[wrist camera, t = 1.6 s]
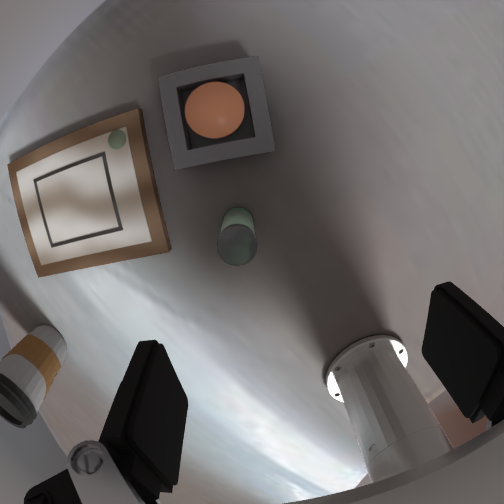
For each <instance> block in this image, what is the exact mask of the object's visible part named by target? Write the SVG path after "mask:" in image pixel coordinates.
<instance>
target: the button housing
mask: <svg viewBox="0 0 504 504" xmlns="http://www.w3.org/2000/svg"><path fill="white" fill-rule="evenodd" d="M209 82H223V83H226V84H229V85H231V86H232V87H234V88H235V89H236V90H237V91H238V92H239V93H240V95H241V97H242V99H243V102H244V118H243V121H242V123H241V125H240V126H239V128H238V129H237V130H236V131H235V132H234V133H232V134H231V135H229V136H227V137H224V138H219V139H212V138H207V137H204V136H201V135H199V134H197V133H196V132H195V131H193V130H192V129H191V127H190V126H189V124H188V123H187V120H186V117H185V105H186V102H187V99H188V97H189V96H190V94H191V93H192V92H193V91H194V90H195V89H196V88H198V87H199V86H201V85H203V84H206V83H209ZM158 83H159V89H160V95H161V102H162V107H163V113H164V119H165V125H166V130H167V136H168V141H169V146H170V151H171V156H172V161H173V166H174V171H175V170H179V169H183V168H188V167H192V166H197V165H202V164H206V163H211V162H216V161H221V160H227V159H232V158H238V157H243V156H249V155H255V154H261V153H267V152H274V151H276V149H275V144H274V138H273V132H272V126H271V121H270V115H269V110H268V104H267V99H266V93H265V88H264V83H263V78H262V73H261V68H260V63H259V58H258V56H253V57H246V58H239V59H233V60H227V61H222V62H216V63H211V64H206V65H202V66H197V67H193V68H189V69H184V70H180V71H176V72H173V73H169V74H165V75H162V76H158Z"/></svg>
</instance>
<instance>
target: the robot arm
mask: <svg viewBox="0 0 504 504" xmlns="http://www.w3.org/2000/svg"><path fill="white" fill-rule="evenodd" d="M422 354H423V357H424V358H425V360H426V361H427V362H428V364H429V365H430V367H431V368H432V369H433V371H434V372H435V374H436V375H437V376H438V378H439V379H440V381H441V382H442V384H443V385H444V387H445V388H446V389H447V391H448V392H449V394H450V395H451V397H452V398H453V400H454V401H455V403H456V404H457V406H458V407H459V409H460V410H461V412H462V413H463V415H464V416H465V417H466V418H470V420H471V422H472V423H474V422H476V421H478V420H479V419H481V418H483V417H484V415H486V417H487V418H488V420H487V427H486V431H485V432H483V433H482V434H480V435H478V436H477V437H475V438H473V439H472V440H470V441H468V442H466V443H464V444H463V445H461V446H459V447H457V448H455V449H454V448H453V447H452V445H451V443H450V441H449V440H448V438H447V436H446V434H445V433H444V431H443V429H442V428H441V426H440V424H439V422H438V421H437V419H436V417H435V416H434V414H433V412H432V410H431V409H430V407H429V405H428V404H427V402H426V400H425V399H424V397H423V395H422V394H421V392H420V390H419V389H418V387H417V386H416V384H415V382H414V381H413V379H412V378H411V376H410V374H409V373H408V371H407V370H406V365H407V361H408V354H407V350H406V348H405V346H404V345H403V344H402V342H401V341H400V340H398V339H397V338H395V337H392V336H388V335H375V336H371V337H367V338H364V339H362V340H359V341H357V342H355V343H353V344H351V345H350V346H349V347H347V348H346V349H344V350H343V351H342V352H341V353H340V354H339V355H338V356H337V357H336V358H335V359H334V360H333V361H332V363H331V365H330V366H329V368H328V371H327V374H326V380H325V381H326V386H327V389H328V392H329V393H330V395H331V396H332V397H333V398H335V399H336V400H339V401H341V402H344V404H345V407H346V410H347V413H348V415H349V418H350V421H351V424H352V427H353V430H354V433H355V436H356V439H357V441H358V444H359V447H360V450H361V453H362V456H363V459H364V462H365V465H366V468H367V471H368V474H369V477H370V479H371V482H372V483H371V484H368V485H365V486H361V487H358V488H354V489H351V490H347V491H343V492H339V493H335V494H331V495H327V496H322V497H318V498H313V499H308V500H302V501H296V502H290V503H284V504H504V327H503V326H502V325H501V324H500V323H499V322H498V321H496V320H495V319H494V318H493V317H492V316H491V315H490V314H489V313H487V312H486V311H485V310H484V309H483V308H482V307H481V306H479V305H478V304H477V303H476V302H475V301H474V300H472V299H471V298H470V297H469V296H468V295H466V294H465V293H464V292H463V291H462V290H460V289H459V288H458V287H457V286H455V285H454V284H453V283H452V282H445V283H442V284H439V285H436V286H435V288H434V290H433V291H432V293H431V298H430V305H429V312H428V318H427V324H426V329H425V335H424V340H423V345H422ZM187 410H188V399H187V396H186V394H185V392H184V390H183V388H182V385H181V383H180V381H179V379H178V377H177V375H176V373H175V370H174V368H173V366H172V364H171V361H170V359H169V357H168V354H167V352H166V350H165V347H164V345H163V344H159V343H158V342H157V341H156V340H148V341H140V342H139V343H138V345H137V347H136V349H135V352H134V354H133V356H132V359H131V361H130V364H129V366H128V368H127V371H126V373H125V376H124V378H123V381H122V382H121V384H120V386H119V388H118V391H117V393H116V396H115V398H114V401H113V404H112V406H111V409H110V411H109V414H108V417H107V419H106V422H105V425H104V428H103V430H102V433H101V436H100V439H99V442H98V441H93V440H88V441H83V442H81V443H79V444H77V445H76V446H74V447H73V449H72V450H71V451H70V452H69V455H68V457H67V469H66V470H64V471H62V472H61V473H58V474H57V475H55V476H53V477H51V478H49V479H48V480H46V481H44V482H42V483H40V484H38V485H36V486H34V487H33V488H31V489H30V490H29V491H28V492H27V494H26V496H25V498H24V504H161V503H160V502H159V500H158V499H159V494H160V492H168V493H172V489H173V485H177V483H178V477H179V469H180V461H181V453H182V445H183V438H184V431H185V424H186V417H187Z"/></svg>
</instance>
